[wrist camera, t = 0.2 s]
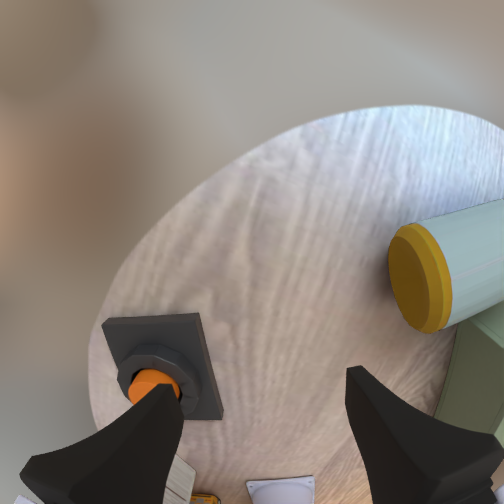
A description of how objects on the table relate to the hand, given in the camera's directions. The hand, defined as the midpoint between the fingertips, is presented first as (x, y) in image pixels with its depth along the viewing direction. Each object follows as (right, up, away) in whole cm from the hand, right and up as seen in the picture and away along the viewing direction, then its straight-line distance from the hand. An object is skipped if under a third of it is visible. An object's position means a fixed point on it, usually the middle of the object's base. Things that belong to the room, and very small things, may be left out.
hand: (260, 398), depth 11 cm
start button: (-8, -4, +9) cm, 13 cm away
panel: (-7, -4, +12) cm, 14 cm away
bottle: (+9, +4, +5) cm, 11 cm away
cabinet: (+25, -6, +11) cm, 28 cm away
